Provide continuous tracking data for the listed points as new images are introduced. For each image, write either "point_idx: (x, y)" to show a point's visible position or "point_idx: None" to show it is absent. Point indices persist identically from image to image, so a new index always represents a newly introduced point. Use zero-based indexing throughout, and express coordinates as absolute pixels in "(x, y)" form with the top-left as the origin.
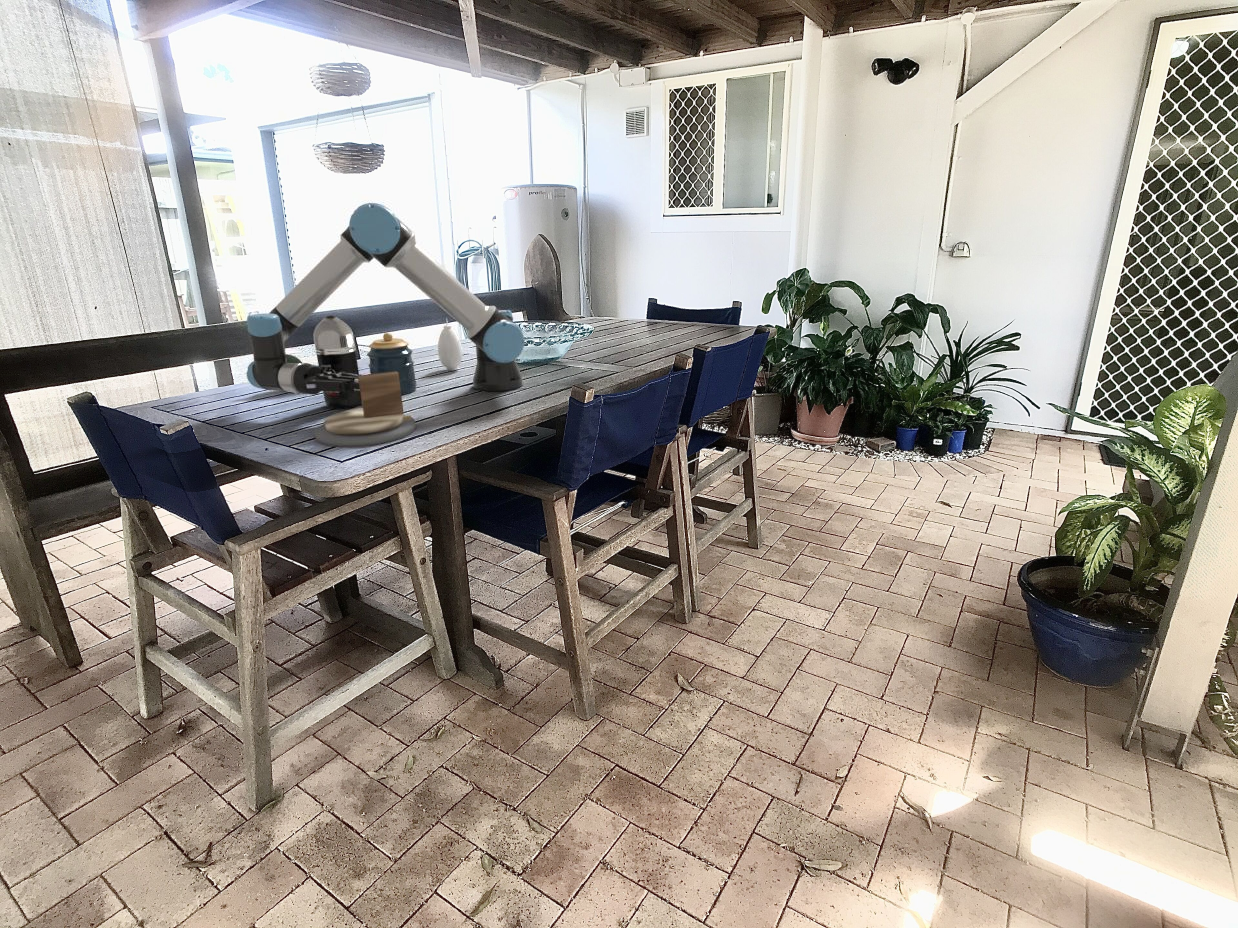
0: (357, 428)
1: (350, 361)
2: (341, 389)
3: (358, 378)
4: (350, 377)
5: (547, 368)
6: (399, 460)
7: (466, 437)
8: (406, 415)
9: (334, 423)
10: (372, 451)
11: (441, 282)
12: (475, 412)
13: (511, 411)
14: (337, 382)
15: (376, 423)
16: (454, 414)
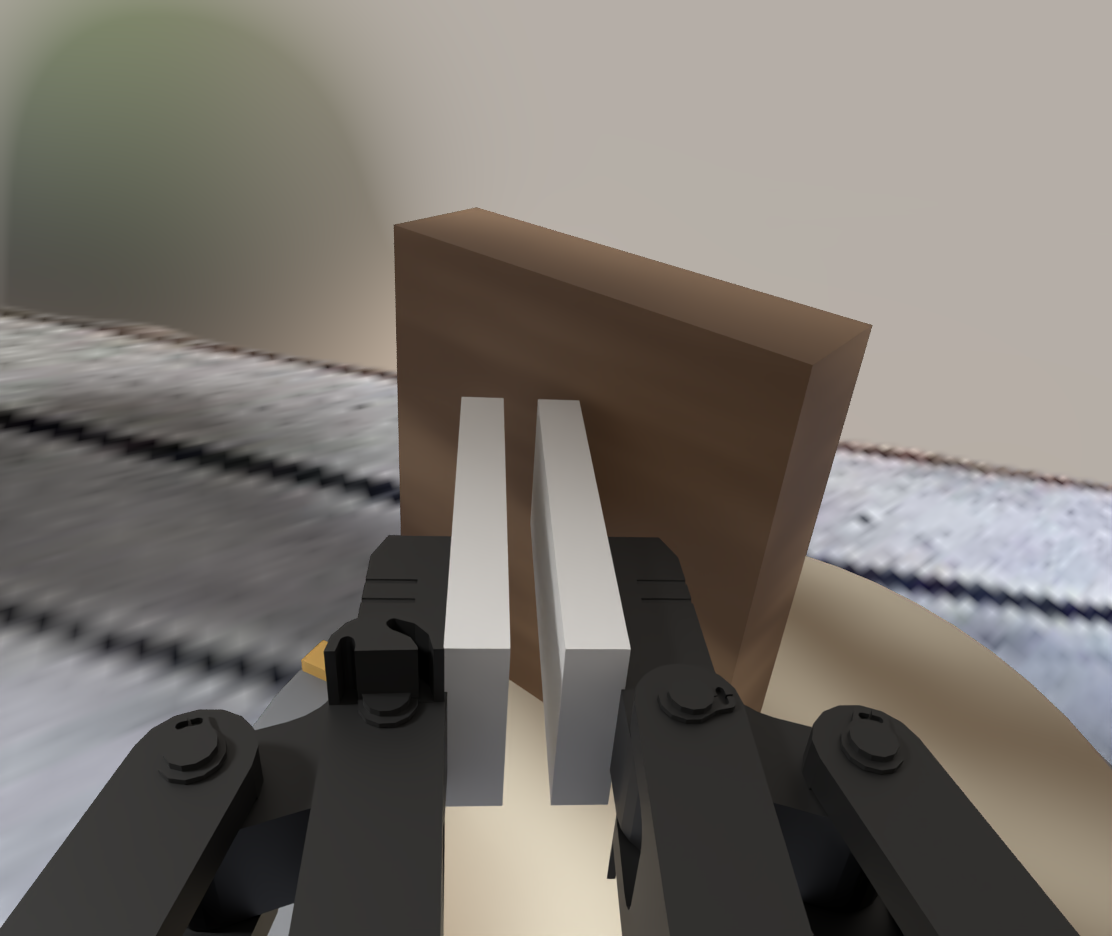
0: (967, 642)
1: None
2: (866, 917)
3: (827, 382)
4: (424, 908)
5: None
6: (916, 460)
7: None
8: (270, 707)
9: (1102, 906)
10: (947, 589)
11: None
12: (13, 482)
13: (21, 379)
14: (991, 833)
15: (800, 584)
16: (54, 554)
